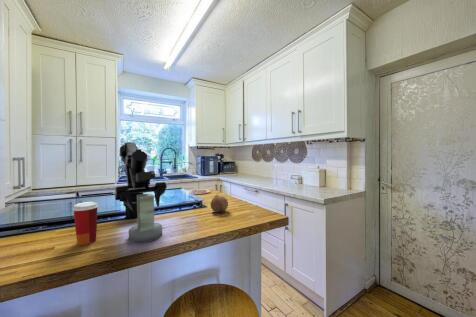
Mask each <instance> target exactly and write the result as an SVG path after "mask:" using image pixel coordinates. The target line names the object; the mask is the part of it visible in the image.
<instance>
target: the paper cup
mask: <svg viewBox="0 0 476 317" xmlns="http://www.w3.org/2000/svg"><path fill="white" fill-rule="evenodd" d="M98 207H99V205H98V203H97V201H86V202H85V201H84V202H80V203H79V202H78V203H76V204H74V205H73V206H72V209H71V211H73V219H74V227H75V237H76V244H77V245H78V246H86V245H90V244H94V243H95V242H96V240H97V231H98V230H97V229H98V228H97V227H98Z"/></svg>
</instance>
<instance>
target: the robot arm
mask: <svg viewBox="0 0 476 317" xmlns="http://www.w3.org/2000/svg"><path fill="white" fill-rule="evenodd" d="M119 157H120V160H121V161H122V162H123V163H124V165H125V175H126V176H125V177H126V183H127V185H120V186H116V187H115V190H114V200H115V201H119V202H122V205H123V207H125V216H124V219H137V195H141V194H145V193H151V192H152V193H153V195H154V202H155V205H156V207H157V208H159V207H160V200H161V196H162V195H164V194H165V192H166V190H167V187H168V186H167V183H166V182H165V181H161V182H155V185H154V186H150V184H151V181H152V180H154V179H155V178H156V173H155V170H149V171H146V170H145V169H146V166H147V162H148V154H147V152H145V151H143V150H142V149H141V148H138V146H137V144H136V142H132V141H130V142H129V141H126V142H124V144H123V145H121V146H120V147H119Z"/></svg>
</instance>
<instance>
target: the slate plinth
mask: <svg viewBox="0 0 476 317" xmlns="http://www.w3.org/2000/svg"><path fill="white" fill-rule="evenodd" d="M162 235H163V225H162V224H161V223H159V222H154V229H150V230H146V231H140V230H139V229H138V225H136V224H135V225H133V226H132V227H130V228H129V229H128V241H129V242H133V243H139V244H141V243H147V242H151V241H152V242H153V241H155V240H157V239H159V238H161V237H162Z"/></svg>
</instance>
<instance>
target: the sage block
mask: <svg viewBox="0 0 476 317" xmlns="http://www.w3.org/2000/svg"><path fill="white" fill-rule="evenodd" d="M154 196H155V194H152V193H151V192H147V193H143V194H141V195H137V218H136V219H137V223H136V224H137V225H138V229H139V230H140V231H146V230H150V229H154V223H155V197H154Z"/></svg>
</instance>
